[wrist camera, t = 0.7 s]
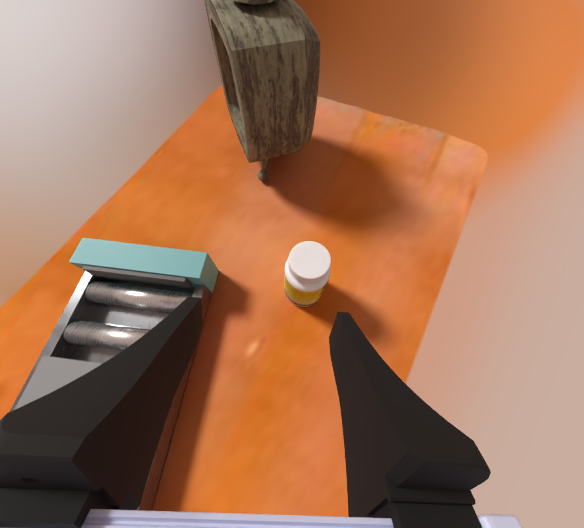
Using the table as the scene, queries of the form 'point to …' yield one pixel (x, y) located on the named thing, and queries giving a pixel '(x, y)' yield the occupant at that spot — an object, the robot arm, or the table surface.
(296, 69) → the tabletop clock
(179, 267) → the end stop
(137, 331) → the roller bed
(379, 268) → the table surface
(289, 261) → the supplement bottle
